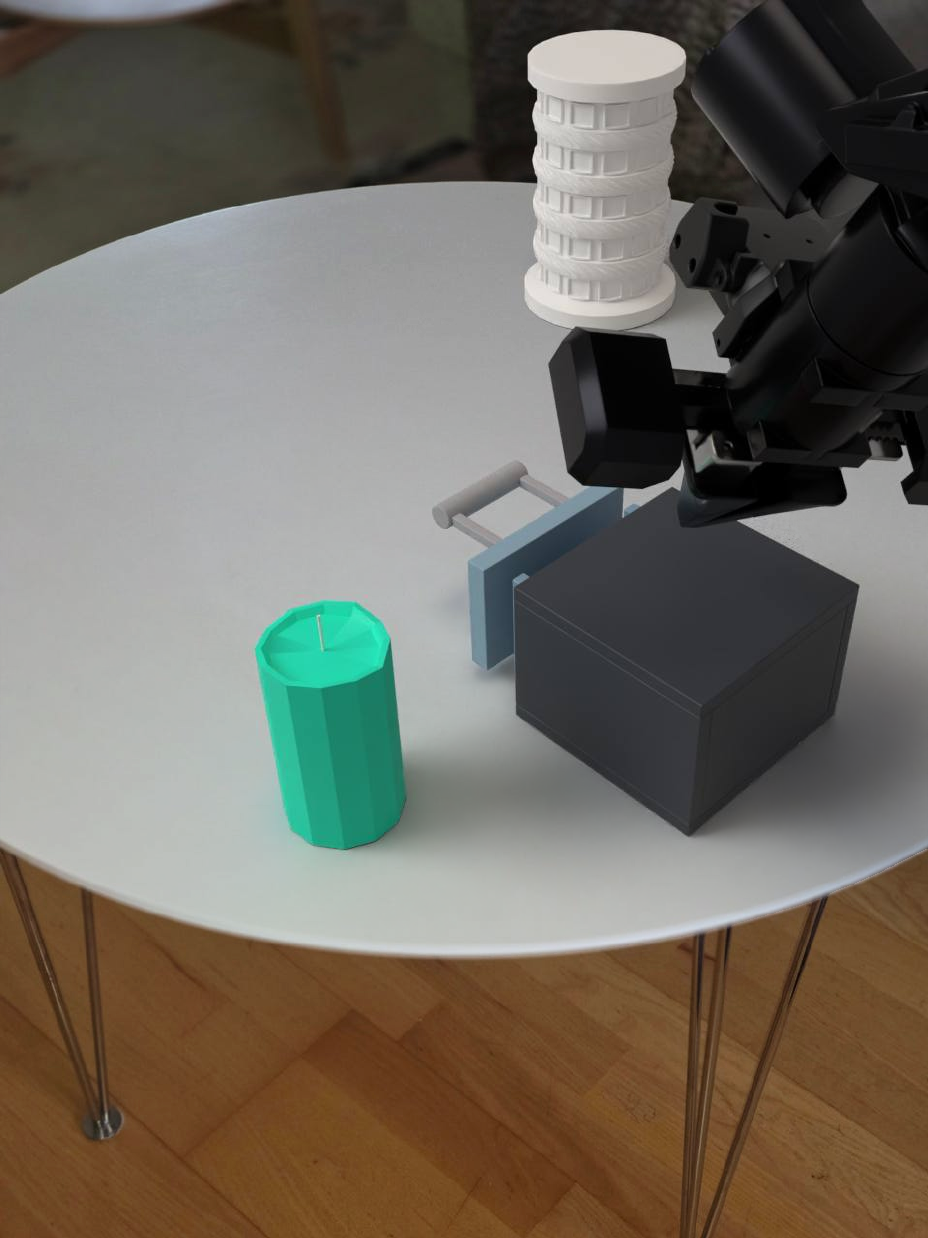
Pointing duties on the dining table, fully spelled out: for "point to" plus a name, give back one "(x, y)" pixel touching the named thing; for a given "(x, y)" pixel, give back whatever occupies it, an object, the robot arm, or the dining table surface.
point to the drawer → (519, 548)
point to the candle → (333, 722)
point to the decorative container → (603, 177)
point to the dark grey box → (680, 656)
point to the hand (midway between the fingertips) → (685, 518)
